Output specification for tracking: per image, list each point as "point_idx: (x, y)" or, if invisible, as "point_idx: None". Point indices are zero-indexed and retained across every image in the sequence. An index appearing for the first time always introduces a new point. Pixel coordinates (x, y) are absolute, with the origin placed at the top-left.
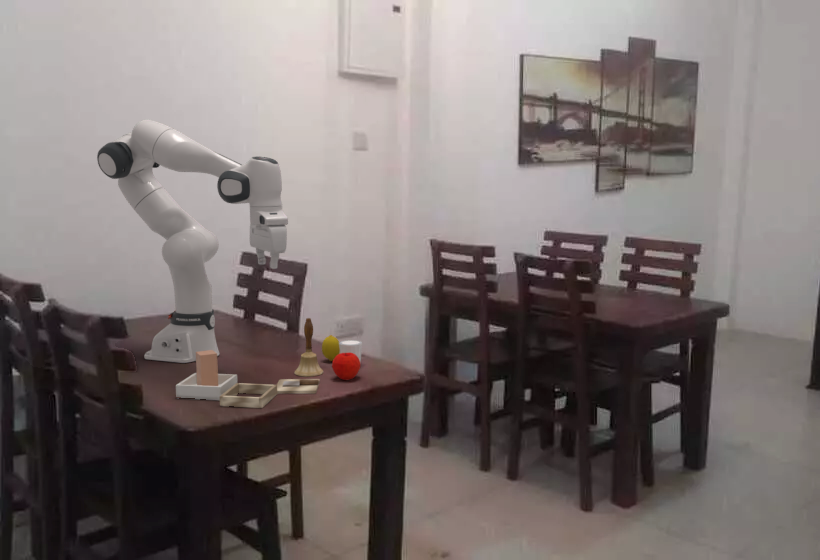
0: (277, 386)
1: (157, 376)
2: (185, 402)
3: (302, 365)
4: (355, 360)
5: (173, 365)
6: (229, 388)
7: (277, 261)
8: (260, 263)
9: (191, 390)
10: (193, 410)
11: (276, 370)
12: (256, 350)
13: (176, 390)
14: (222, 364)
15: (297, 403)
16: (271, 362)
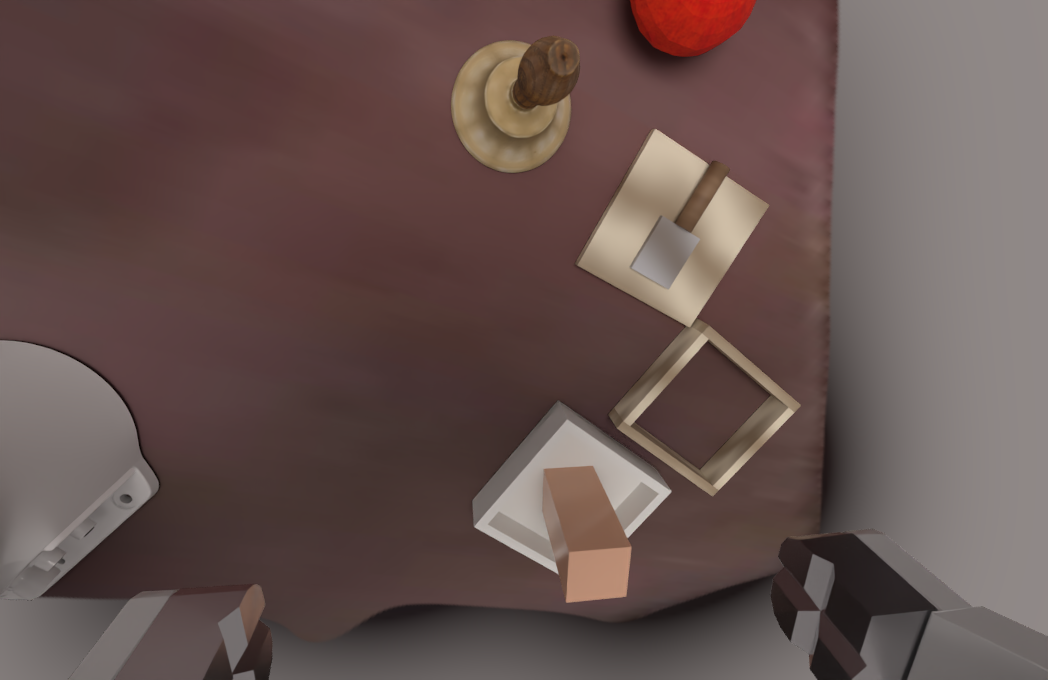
0: (653, 301)
1: (312, 575)
2: None
3: (531, 143)
4: None
5: (176, 520)
6: (612, 442)
7: (995, 619)
8: (266, 675)
9: None
10: (691, 537)
11: (412, 215)
12: None
13: None
14: (226, 372)
15: (808, 295)
16: (269, 185)
